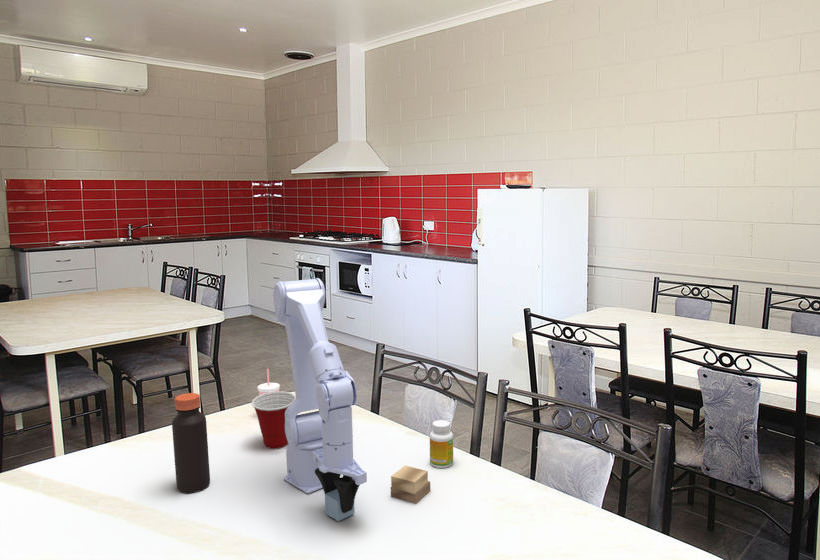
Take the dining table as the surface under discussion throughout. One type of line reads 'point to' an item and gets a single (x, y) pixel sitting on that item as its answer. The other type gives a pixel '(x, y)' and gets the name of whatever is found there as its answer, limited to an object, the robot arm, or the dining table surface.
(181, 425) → the vinegar
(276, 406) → the plastic cup
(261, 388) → the beverage cup
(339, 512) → the slate blue cube
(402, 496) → the walnut slab
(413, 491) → the oak slab
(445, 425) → the supplement bottle
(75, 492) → the dining table surface
